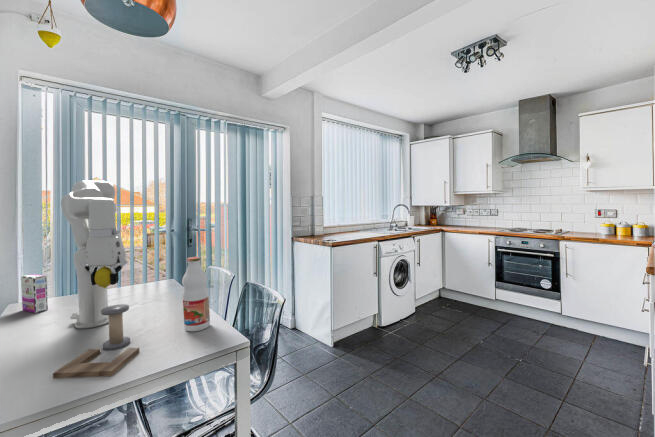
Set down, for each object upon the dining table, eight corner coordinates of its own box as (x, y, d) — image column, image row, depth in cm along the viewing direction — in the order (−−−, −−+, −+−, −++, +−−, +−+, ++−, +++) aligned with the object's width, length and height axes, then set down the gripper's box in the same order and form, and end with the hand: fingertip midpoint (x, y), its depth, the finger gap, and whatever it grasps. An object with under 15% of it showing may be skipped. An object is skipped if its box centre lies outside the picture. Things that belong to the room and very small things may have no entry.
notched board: (53, 378, 85) (52, 373, 85) (89, 353, 99) (89, 349, 99) (111, 376, 86) (111, 370, 86) (139, 351, 100) (139, 347, 100)
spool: (96, 350, 101) (95, 312, 100) (112, 339, 109) (110, 304, 108) (121, 349, 102) (119, 312, 101) (135, 339, 110) (133, 304, 109)
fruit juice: (215, 324, 122) (211, 256, 120) (195, 333, 113) (191, 260, 112) (199, 320, 126) (195, 254, 124) (179, 329, 118) (175, 259, 116)
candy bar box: (49, 310, 141) (47, 275, 140) (35, 313, 136) (33, 277, 135) (35, 307, 145) (33, 273, 144) (21, 310, 140) (19, 275, 139)
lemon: (117, 285, 110) (116, 264, 109) (109, 290, 105) (108, 267, 104) (100, 286, 109) (99, 264, 109) (91, 291, 104) (90, 268, 103)
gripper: (134, 232, 110) (136, 280, 111) (84, 232, 109) (86, 281, 110) (122, 234, 103) (124, 286, 104) (68, 234, 101) (71, 287, 102)
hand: (105, 283), depth 107 cm, fingers closed on lemon, 5 cm apart
